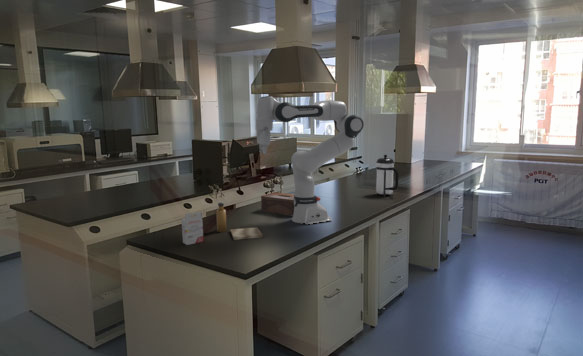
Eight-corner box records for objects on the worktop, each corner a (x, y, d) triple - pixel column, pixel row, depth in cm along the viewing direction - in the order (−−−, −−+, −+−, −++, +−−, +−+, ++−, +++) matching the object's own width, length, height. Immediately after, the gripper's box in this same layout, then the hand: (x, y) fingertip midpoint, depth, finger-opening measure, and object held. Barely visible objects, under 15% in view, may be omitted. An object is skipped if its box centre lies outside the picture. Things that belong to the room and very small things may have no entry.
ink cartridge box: (199, 239, 194) (198, 209, 191) (203, 241, 190) (202, 211, 187) (182, 242, 189) (180, 212, 186) (186, 245, 185) (184, 214, 182)
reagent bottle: (225, 229, 210) (225, 201, 208) (227, 231, 206) (226, 203, 203) (216, 229, 209) (215, 202, 207) (217, 232, 204) (216, 204, 202)
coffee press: (372, 196, 291) (373, 155, 286) (374, 192, 306) (376, 153, 301) (397, 197, 286) (399, 156, 281) (398, 193, 301) (399, 153, 296)
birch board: (257, 229, 209) (257, 227, 209) (262, 237, 196) (262, 234, 196) (230, 231, 206) (230, 229, 205) (233, 239, 192) (233, 237, 192)
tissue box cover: (261, 211, 249) (261, 195, 247) (274, 207, 261) (274, 192, 259) (296, 217, 235) (296, 200, 234) (309, 212, 247) (309, 196, 246)
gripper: (274, 127, 203) (272, 154, 205) (266, 127, 223) (265, 152, 224) (261, 126, 202) (260, 154, 203) (255, 126, 221) (254, 151, 223)
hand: (262, 153), depth 214 cm, fingers open, 8 cm apart
